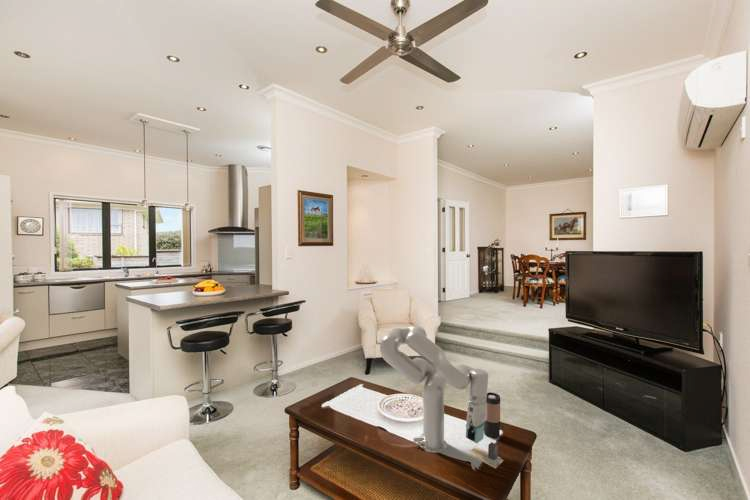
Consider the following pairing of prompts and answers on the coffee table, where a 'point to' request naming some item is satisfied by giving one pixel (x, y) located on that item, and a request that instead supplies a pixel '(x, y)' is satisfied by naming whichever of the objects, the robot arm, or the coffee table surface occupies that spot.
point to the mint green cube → (477, 433)
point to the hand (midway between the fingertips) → (474, 436)
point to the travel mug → (492, 416)
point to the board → (482, 456)
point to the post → (493, 454)
